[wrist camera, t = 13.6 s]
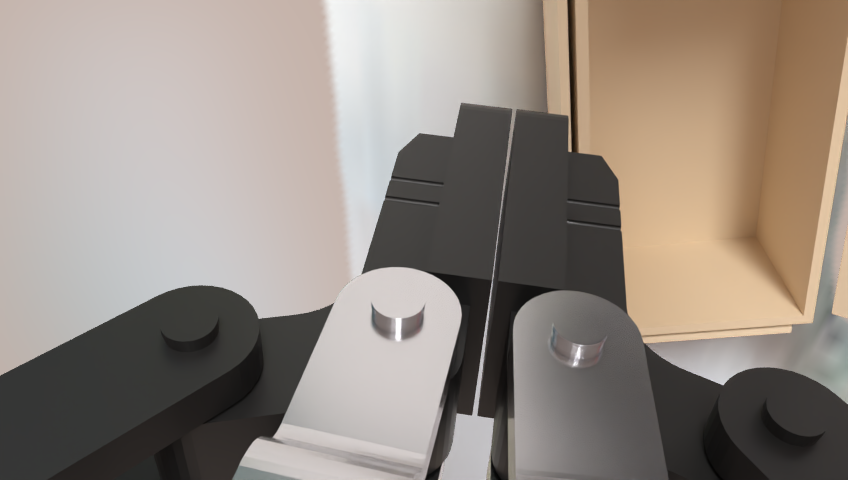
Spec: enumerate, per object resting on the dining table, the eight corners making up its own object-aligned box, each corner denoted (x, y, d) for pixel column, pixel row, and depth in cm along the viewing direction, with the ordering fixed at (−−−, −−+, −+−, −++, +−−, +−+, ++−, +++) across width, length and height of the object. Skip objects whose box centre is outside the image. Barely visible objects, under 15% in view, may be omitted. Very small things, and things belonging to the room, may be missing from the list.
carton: (534, -162, 36) (552, -139, 30) (811, -199, 35) (896, -184, 28) (553, 265, 49) (570, 351, 42) (760, 248, 47) (810, 333, 41)
